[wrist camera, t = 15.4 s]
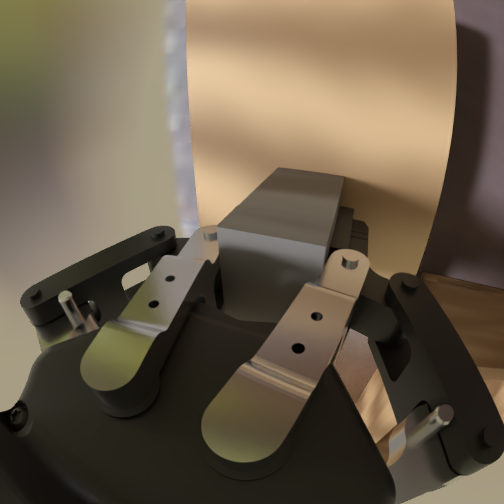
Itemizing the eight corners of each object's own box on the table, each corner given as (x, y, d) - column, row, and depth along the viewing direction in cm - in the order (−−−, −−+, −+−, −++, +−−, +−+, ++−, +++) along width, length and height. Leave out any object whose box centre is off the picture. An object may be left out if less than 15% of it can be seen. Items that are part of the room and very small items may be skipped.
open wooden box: (422, 271, 15) (434, 419, 8) (565, 304, 11) (599, 403, 3) (355, 404, 25) (333, 488, 18) (470, 415, 21) (467, 490, 13)
